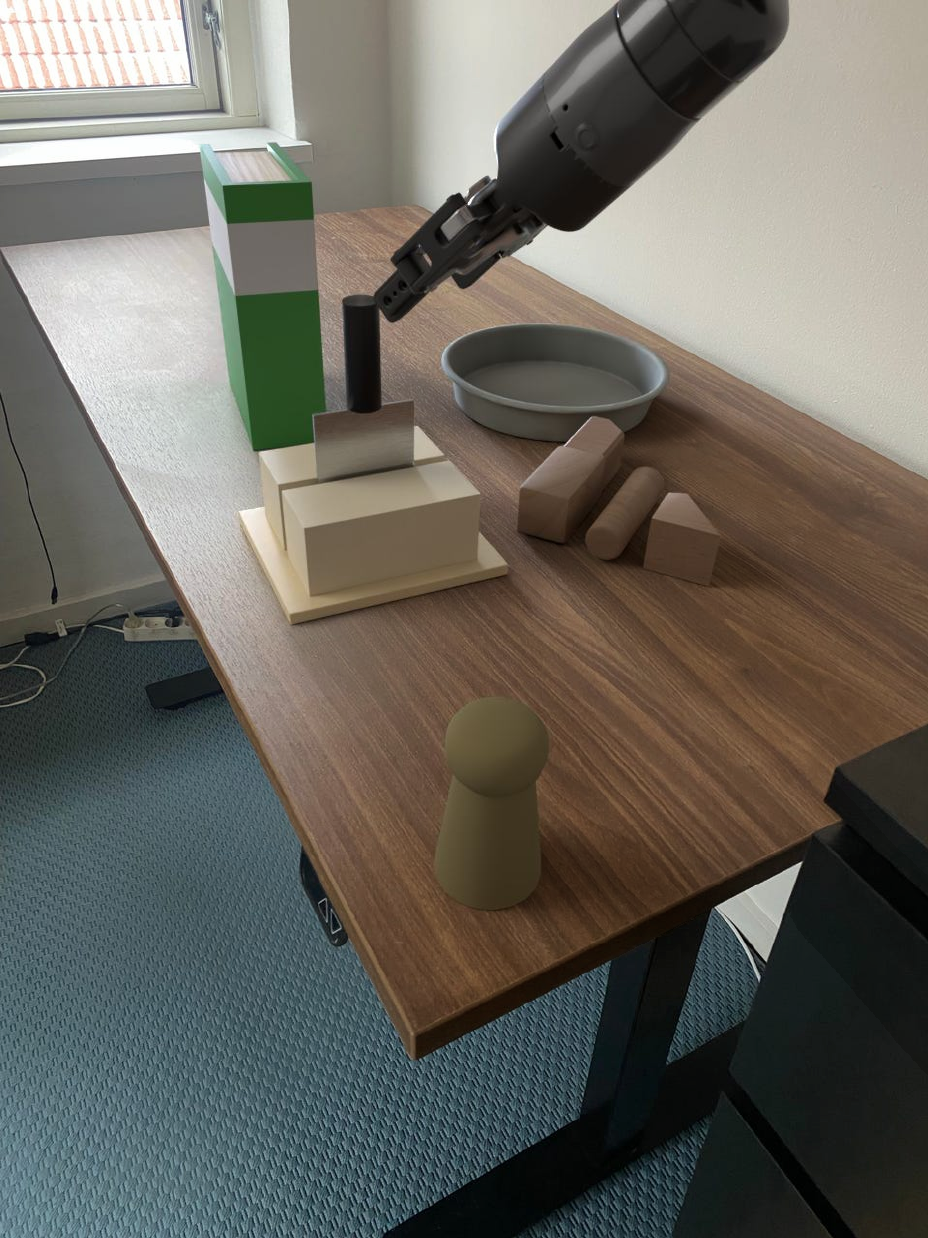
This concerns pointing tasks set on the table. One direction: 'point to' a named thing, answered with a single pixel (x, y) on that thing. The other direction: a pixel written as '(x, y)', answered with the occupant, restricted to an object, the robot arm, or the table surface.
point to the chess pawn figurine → (492, 804)
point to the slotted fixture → (366, 532)
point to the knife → (363, 408)
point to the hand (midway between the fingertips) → (421, 292)
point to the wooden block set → (615, 506)
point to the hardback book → (267, 291)
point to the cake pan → (552, 378)
